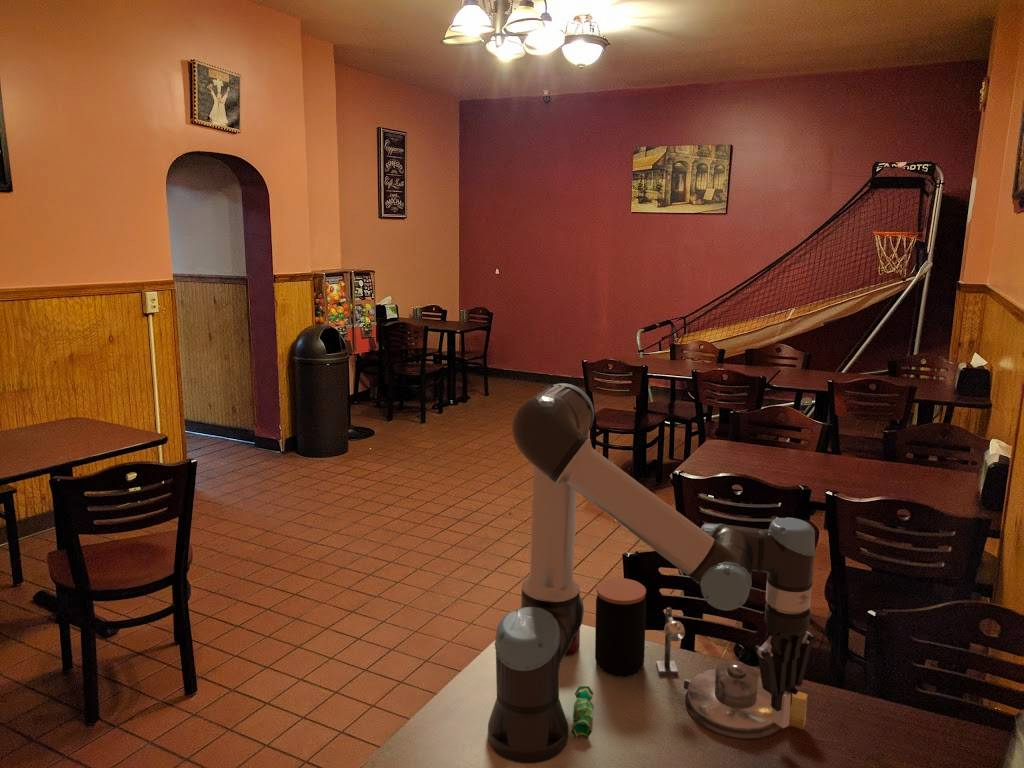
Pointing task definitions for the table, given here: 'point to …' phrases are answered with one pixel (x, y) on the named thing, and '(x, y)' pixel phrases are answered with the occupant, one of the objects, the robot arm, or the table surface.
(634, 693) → the table surface
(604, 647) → the coffee jar
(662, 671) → the dial stand
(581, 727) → the candy
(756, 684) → the cover
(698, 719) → the turntable base
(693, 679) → the turntable
